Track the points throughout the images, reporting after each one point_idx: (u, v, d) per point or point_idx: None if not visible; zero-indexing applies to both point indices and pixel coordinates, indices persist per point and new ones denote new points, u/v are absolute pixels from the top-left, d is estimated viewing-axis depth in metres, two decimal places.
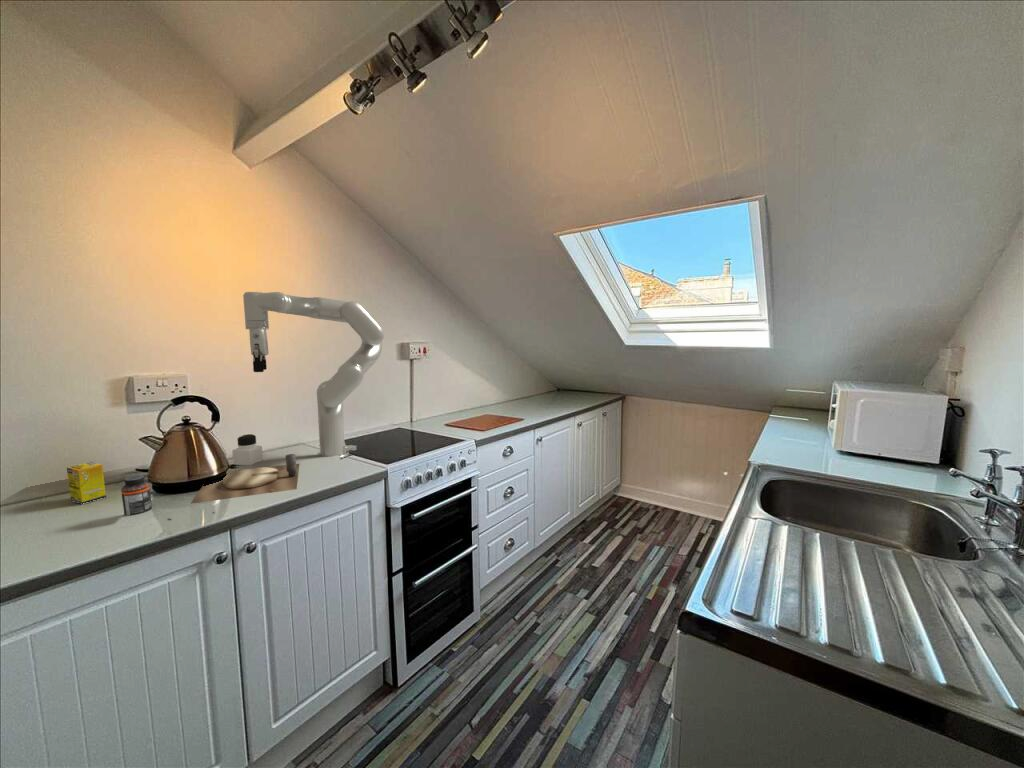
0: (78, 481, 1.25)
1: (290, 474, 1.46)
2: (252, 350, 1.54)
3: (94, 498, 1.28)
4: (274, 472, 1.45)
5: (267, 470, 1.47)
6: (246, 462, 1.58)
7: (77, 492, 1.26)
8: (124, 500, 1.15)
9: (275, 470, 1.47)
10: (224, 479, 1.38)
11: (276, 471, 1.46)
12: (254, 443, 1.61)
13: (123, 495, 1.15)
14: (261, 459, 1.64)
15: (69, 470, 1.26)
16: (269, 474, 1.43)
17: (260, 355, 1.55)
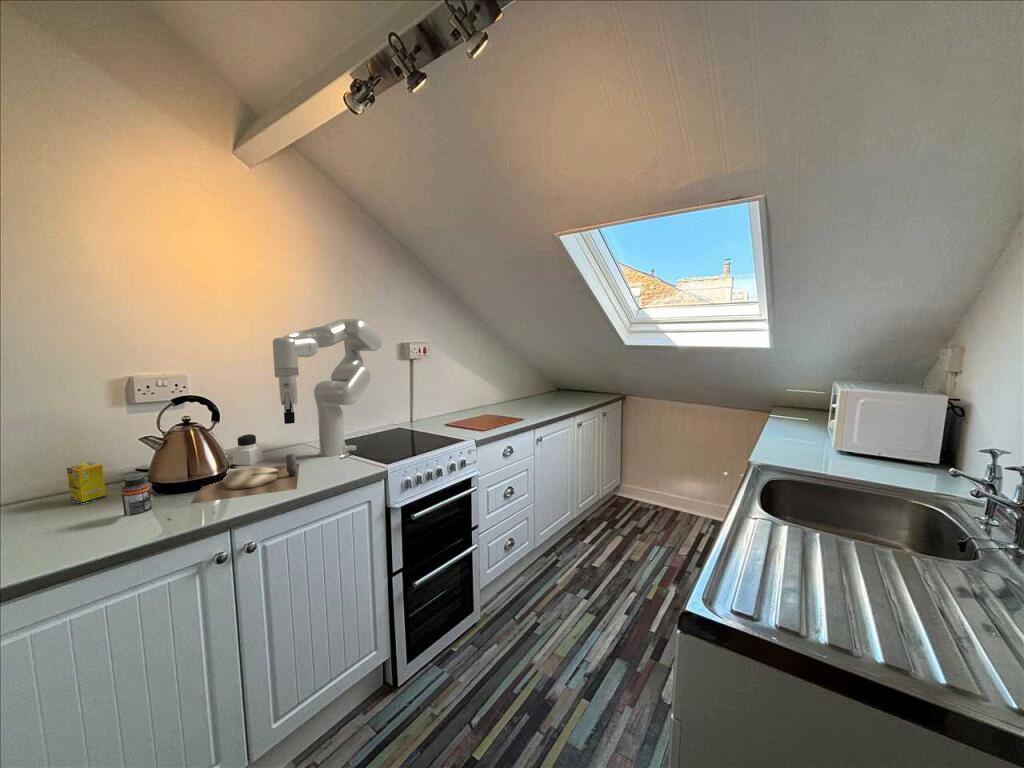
0: (78, 481, 1.25)
1: (290, 474, 1.46)
2: (282, 400, 1.45)
3: (94, 498, 1.28)
4: (274, 472, 1.45)
5: (267, 470, 1.47)
6: (246, 462, 1.58)
7: (77, 492, 1.26)
8: (124, 500, 1.15)
9: (275, 470, 1.47)
10: (224, 479, 1.38)
11: (276, 471, 1.46)
12: (254, 443, 1.61)
13: (123, 495, 1.15)
14: (261, 459, 1.64)
15: (69, 470, 1.26)
16: (269, 474, 1.43)
17: (291, 407, 1.49)
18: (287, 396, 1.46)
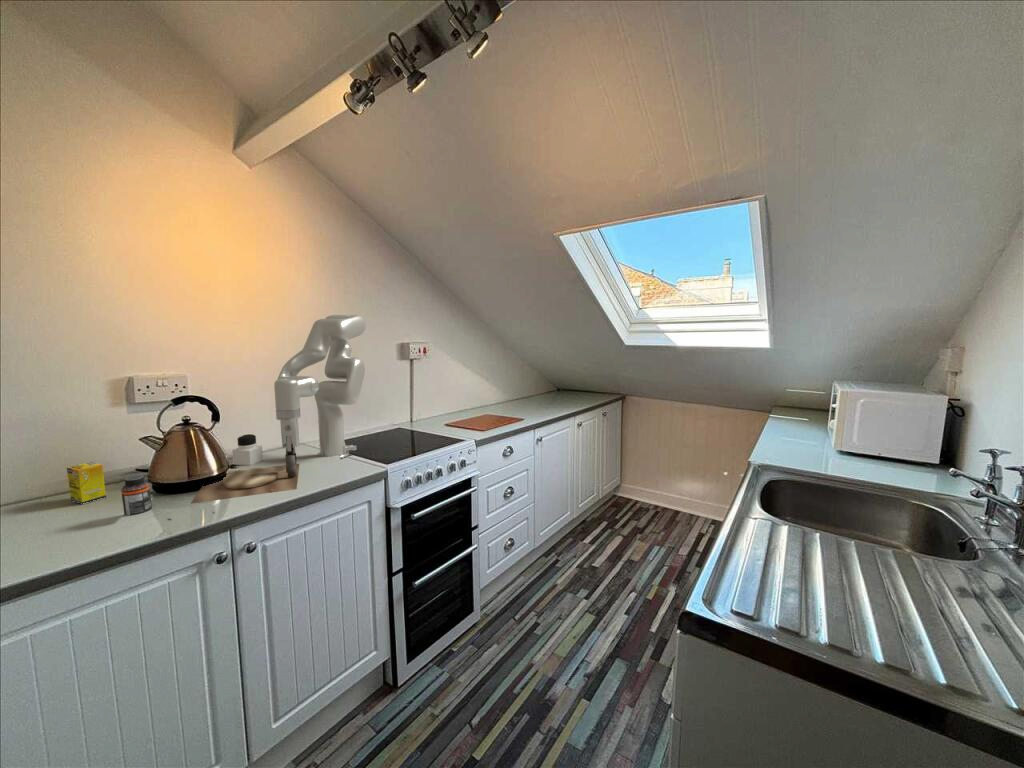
0: (78, 481, 1.25)
1: (289, 475, 1.45)
2: (284, 443, 1.43)
3: (94, 498, 1.28)
4: (273, 473, 1.44)
5: (267, 470, 1.46)
6: (246, 462, 1.58)
7: (77, 492, 1.26)
8: (124, 500, 1.15)
9: (275, 471, 1.46)
10: (224, 478, 1.38)
11: (276, 472, 1.45)
12: (254, 443, 1.61)
13: (123, 495, 1.15)
14: (261, 459, 1.64)
15: (69, 470, 1.26)
16: (268, 475, 1.42)
17: (293, 449, 1.47)
18: (289, 439, 1.44)
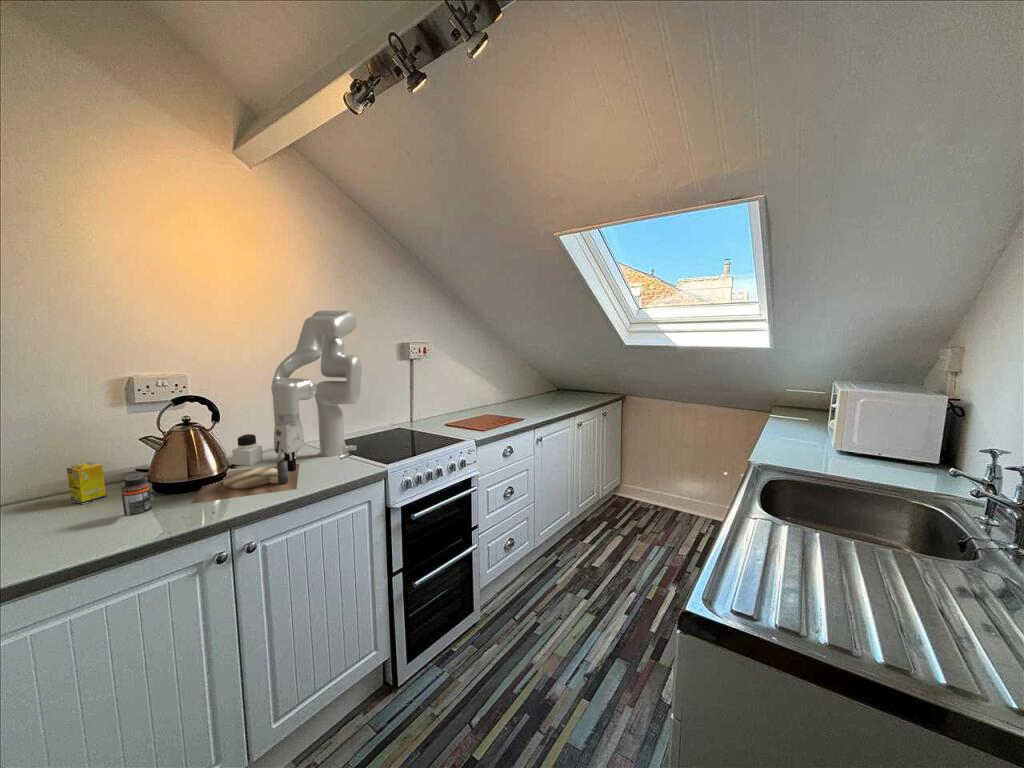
0: (78, 481, 1.25)
1: (279, 481, 1.39)
2: (275, 448, 1.38)
3: (94, 498, 1.28)
4: (268, 476, 1.41)
5: (269, 473, 1.44)
6: (246, 462, 1.58)
7: (77, 492, 1.26)
8: (124, 500, 1.15)
9: (274, 474, 1.43)
10: (229, 474, 1.42)
11: (272, 475, 1.42)
12: (254, 443, 1.61)
13: (123, 495, 1.15)
14: (261, 459, 1.64)
15: (69, 470, 1.26)
16: (262, 477, 1.40)
17: (288, 455, 1.41)
18: (280, 444, 1.38)
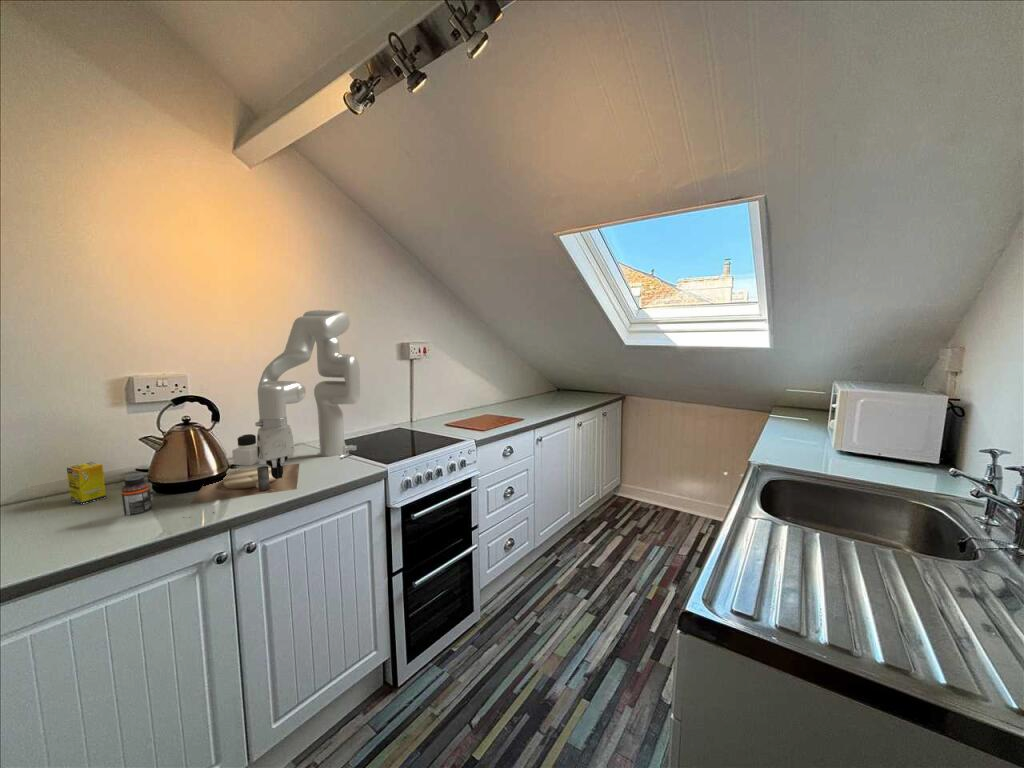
0: (78, 481, 1.25)
1: (258, 487, 1.33)
2: (257, 453, 1.33)
3: (94, 498, 1.28)
4: (258, 480, 1.38)
5: None
6: (246, 462, 1.58)
7: (77, 492, 1.26)
8: (124, 500, 1.15)
9: None
10: None
11: None
12: (254, 443, 1.61)
13: (123, 495, 1.15)
14: None
15: (69, 470, 1.26)
16: (251, 480, 1.37)
17: (271, 462, 1.34)
18: None
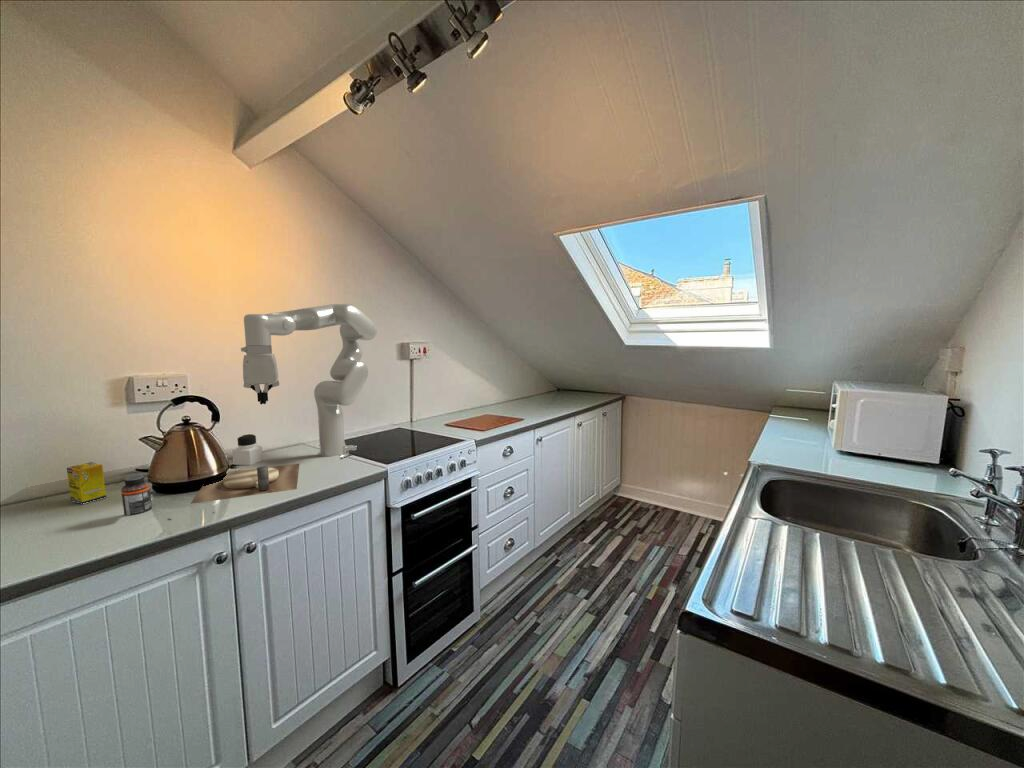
0: (78, 481, 1.25)
1: (258, 487, 1.33)
2: None
3: (94, 498, 1.28)
4: (257, 480, 1.37)
5: None
6: (246, 462, 1.58)
7: (77, 492, 1.26)
8: (124, 500, 1.15)
9: None
10: None
11: None
12: (254, 443, 1.61)
13: (123, 495, 1.15)
14: (261, 459, 1.64)
15: (69, 470, 1.26)
16: (251, 480, 1.37)
17: (254, 387, 1.43)
18: None
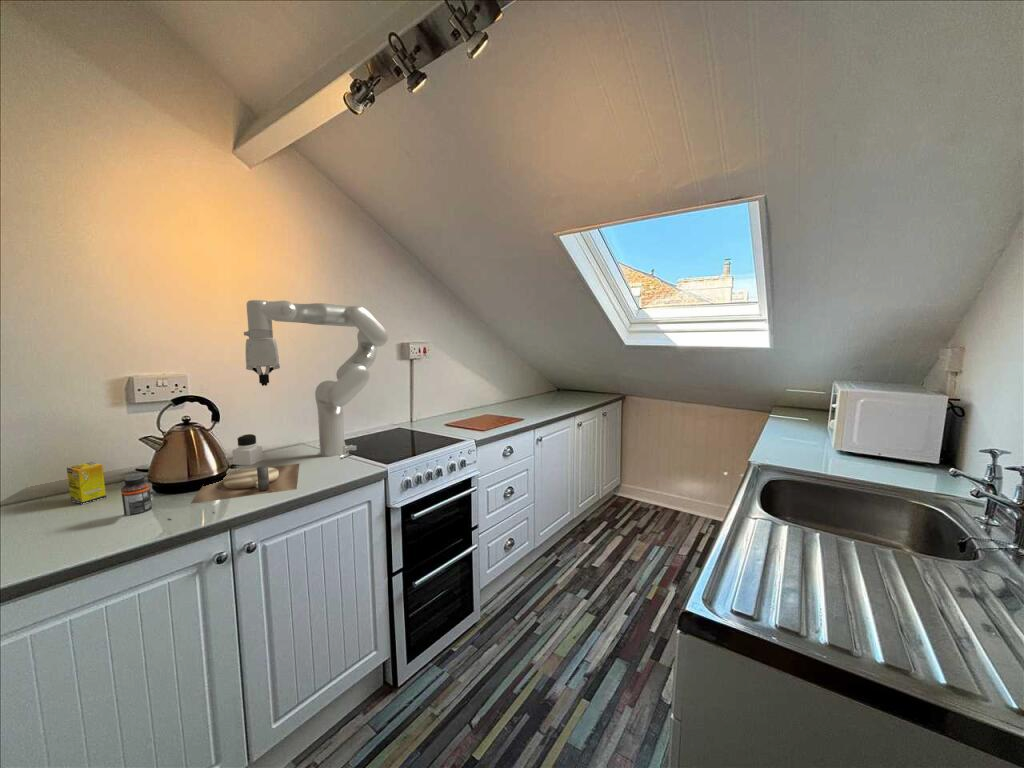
0: (78, 481, 1.25)
1: (258, 487, 1.33)
2: None
3: (94, 498, 1.28)
4: (257, 480, 1.37)
5: None
6: (246, 462, 1.58)
7: (77, 492, 1.26)
8: (124, 500, 1.15)
9: None
10: None
11: None
12: (254, 443, 1.61)
13: (123, 495, 1.15)
14: (261, 459, 1.64)
15: (69, 470, 1.26)
16: (251, 480, 1.37)
17: (256, 369, 1.52)
18: None
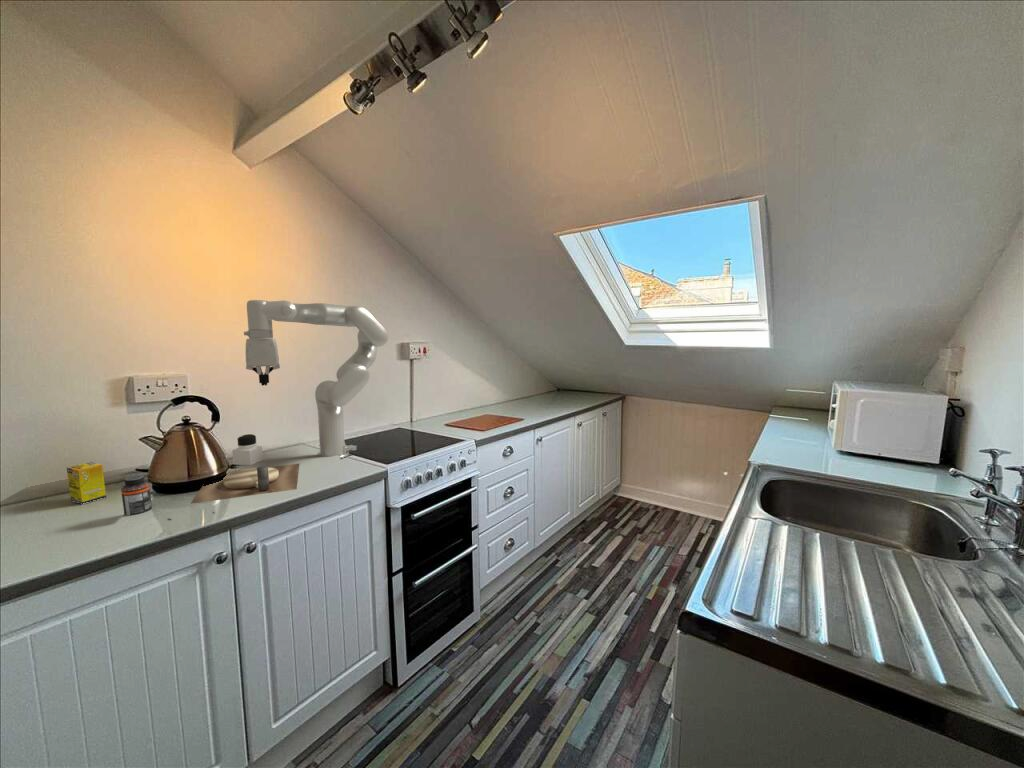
0: (78, 481, 1.25)
1: (258, 487, 1.33)
2: None
3: (94, 498, 1.28)
4: (257, 480, 1.37)
5: None
6: (246, 462, 1.58)
7: (77, 492, 1.26)
8: (124, 500, 1.15)
9: None
10: None
11: None
12: (254, 443, 1.61)
13: (123, 495, 1.15)
14: (261, 459, 1.64)
15: (69, 470, 1.26)
16: (251, 480, 1.37)
17: (256, 369, 1.52)
18: None
